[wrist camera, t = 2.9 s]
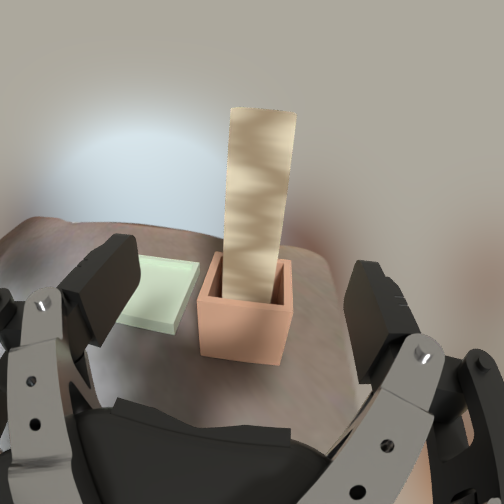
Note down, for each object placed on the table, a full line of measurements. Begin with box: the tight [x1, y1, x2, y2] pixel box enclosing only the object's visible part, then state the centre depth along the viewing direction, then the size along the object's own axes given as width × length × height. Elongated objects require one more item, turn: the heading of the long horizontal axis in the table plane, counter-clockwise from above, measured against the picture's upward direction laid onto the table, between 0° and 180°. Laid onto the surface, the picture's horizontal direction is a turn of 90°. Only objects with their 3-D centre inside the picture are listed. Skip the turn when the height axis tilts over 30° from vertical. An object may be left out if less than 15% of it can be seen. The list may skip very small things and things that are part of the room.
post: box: [222, 107, 297, 304], centre depth 22 cm, size 4×4×20 cm
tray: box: [116, 255, 200, 335], centre depth 31 cm, size 14×11×2 cm
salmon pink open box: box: [197, 251, 293, 365], centre depth 26 cm, size 7×7×7 cm
